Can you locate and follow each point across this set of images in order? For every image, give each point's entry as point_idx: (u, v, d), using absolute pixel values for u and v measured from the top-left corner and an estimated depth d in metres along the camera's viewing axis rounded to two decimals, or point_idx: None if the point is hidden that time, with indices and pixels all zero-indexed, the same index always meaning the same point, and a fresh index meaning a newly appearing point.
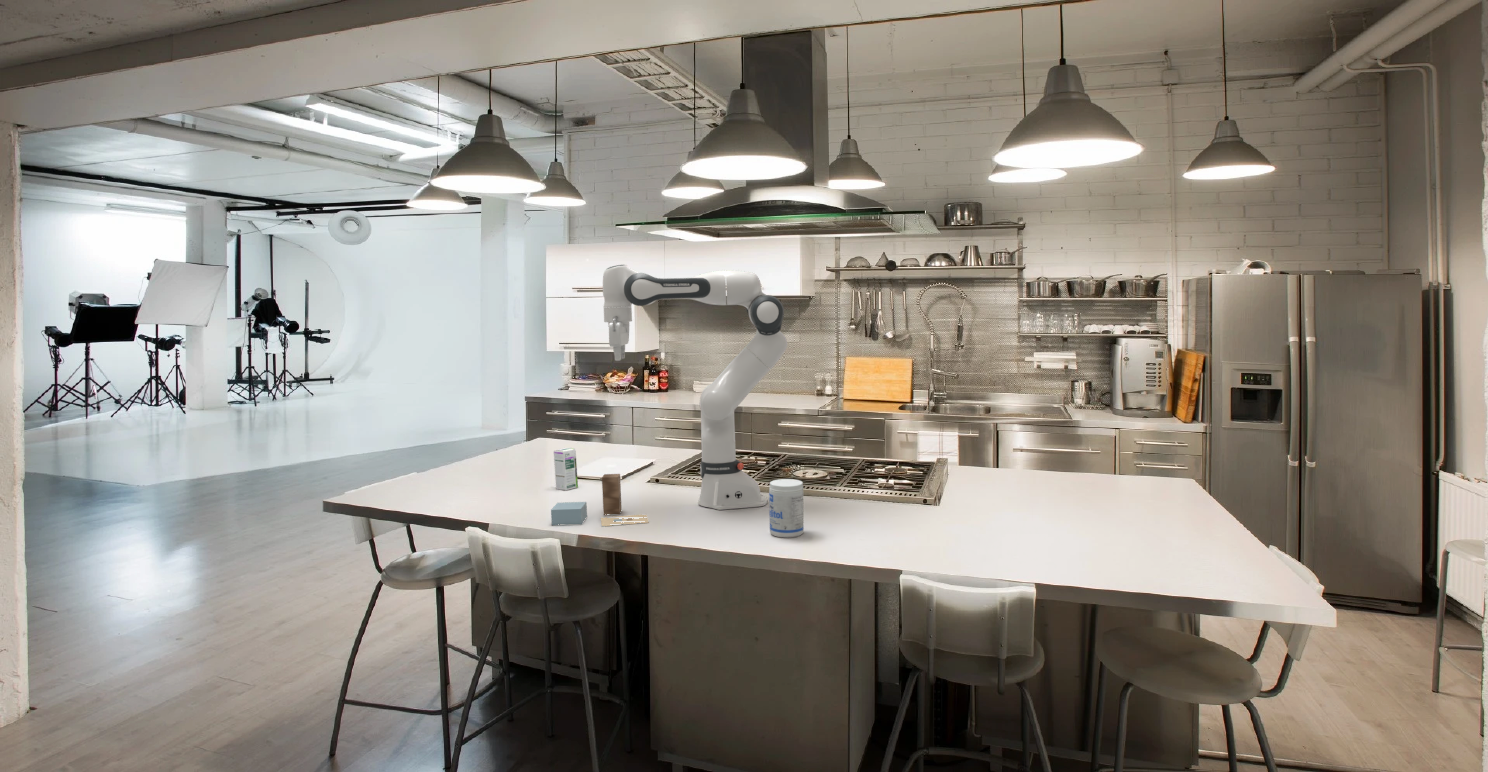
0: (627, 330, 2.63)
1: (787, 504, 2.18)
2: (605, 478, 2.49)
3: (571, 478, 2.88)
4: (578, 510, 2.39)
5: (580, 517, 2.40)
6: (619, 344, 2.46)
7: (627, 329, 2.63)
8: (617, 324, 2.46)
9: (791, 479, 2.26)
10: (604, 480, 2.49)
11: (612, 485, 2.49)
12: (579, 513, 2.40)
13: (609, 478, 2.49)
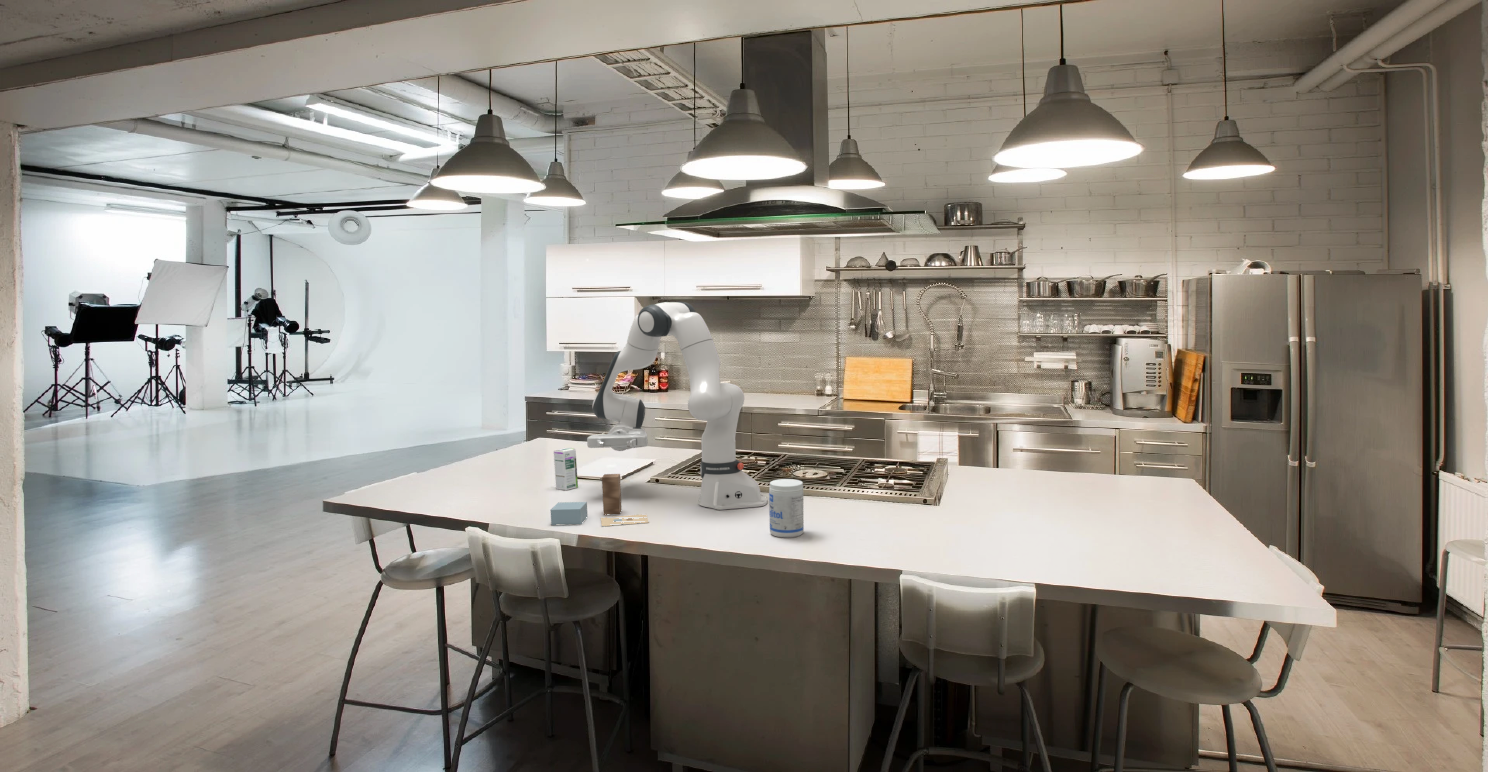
0: (641, 434, 2.72)
1: (787, 504, 2.18)
2: (605, 478, 2.49)
3: (571, 478, 2.88)
4: (577, 510, 2.39)
5: (579, 517, 2.39)
6: (588, 438, 2.67)
7: (641, 433, 2.72)
8: None
9: (791, 479, 2.26)
10: (604, 480, 2.49)
11: (612, 485, 2.49)
12: (578, 513, 2.39)
13: (609, 478, 2.49)
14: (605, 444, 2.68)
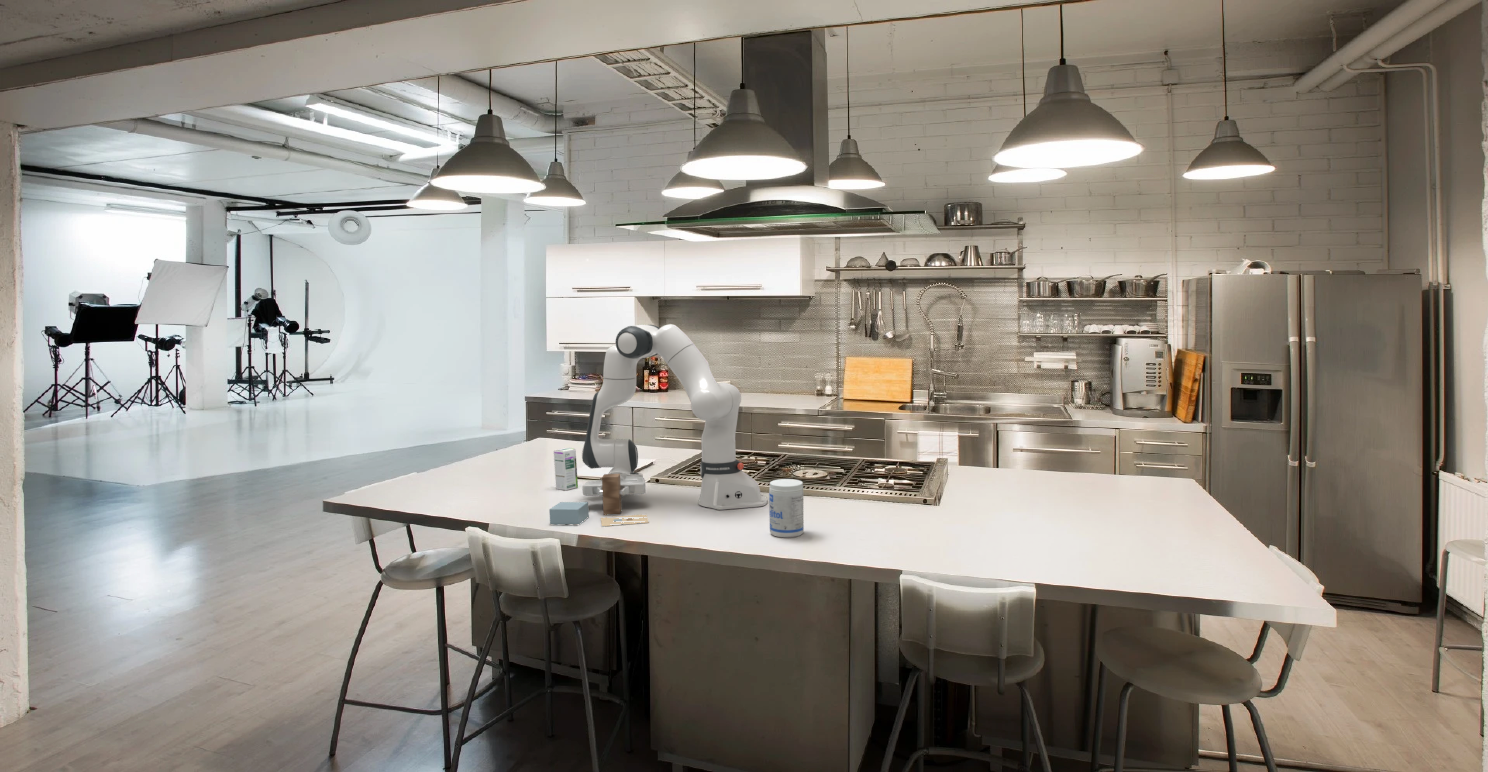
0: (639, 480, 2.60)
1: (787, 504, 2.18)
2: (605, 478, 2.49)
3: (571, 478, 2.88)
4: (575, 511, 2.39)
5: (577, 518, 2.39)
6: (583, 486, 2.56)
7: (638, 480, 2.60)
8: None
9: (791, 479, 2.26)
10: (604, 480, 2.49)
11: (612, 485, 2.49)
12: (576, 514, 2.39)
13: (609, 478, 2.49)
14: None
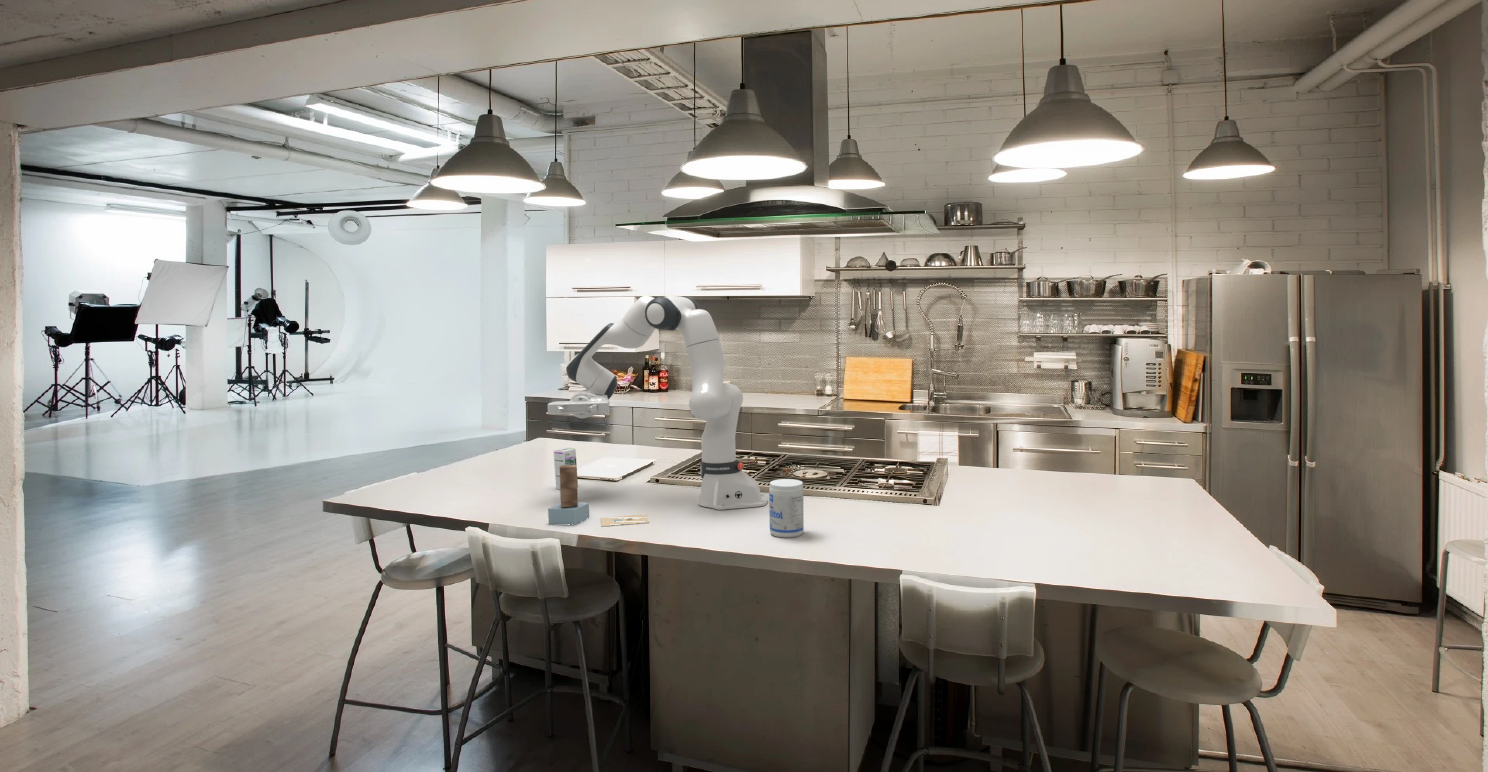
0: (603, 400, 2.67)
1: (787, 504, 2.18)
2: (563, 468, 2.40)
3: None
4: (572, 511, 2.39)
5: (574, 518, 2.39)
6: (548, 404, 2.63)
7: (603, 400, 2.68)
8: None
9: (791, 479, 2.26)
10: (562, 470, 2.40)
11: (571, 476, 2.41)
12: (573, 514, 2.39)
13: (567, 468, 2.41)
14: (566, 410, 2.64)
